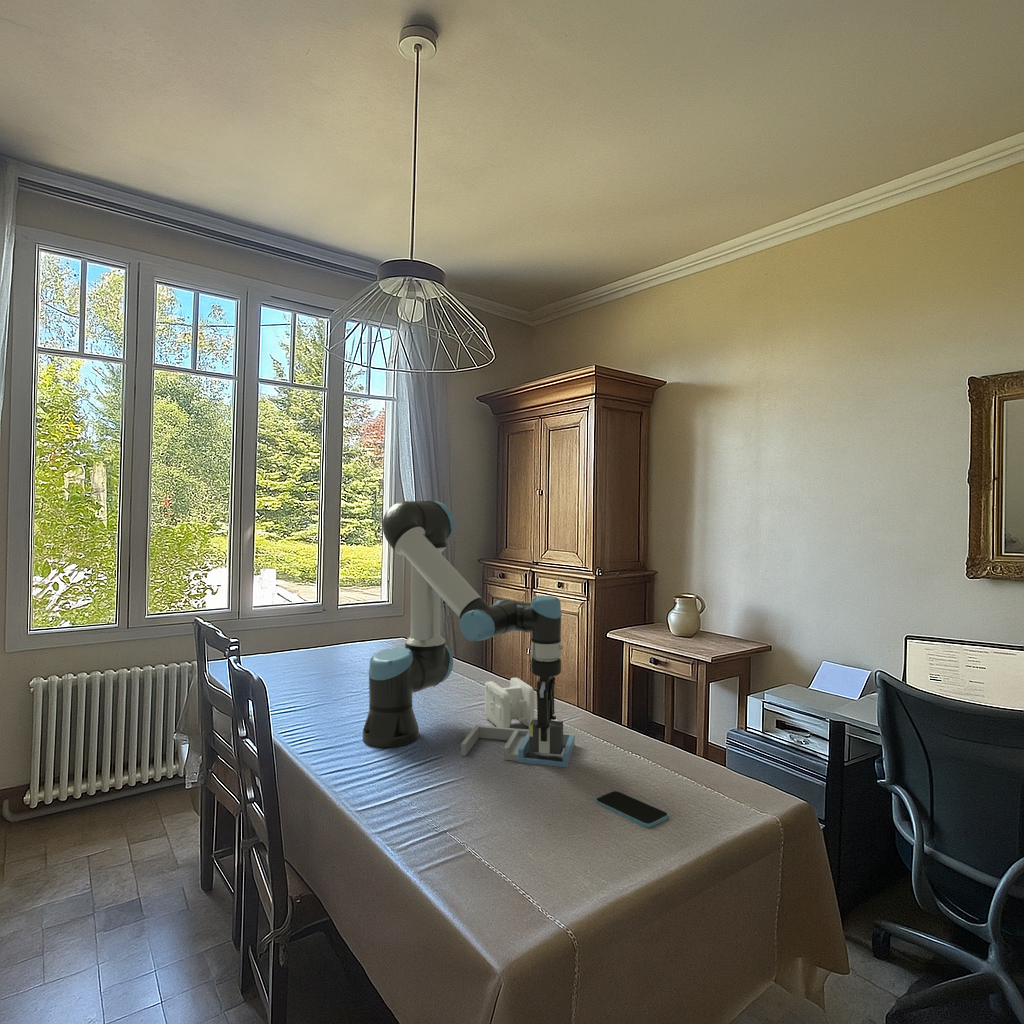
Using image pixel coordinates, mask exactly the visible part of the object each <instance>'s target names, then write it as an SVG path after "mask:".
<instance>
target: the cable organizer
mask: <svg viewBox="0 0 1024 1024" xmlns="http://www.w3.org/2000/svg"><path fill="white" fill-rule="evenodd" d="M535 696H536V694H535V691H534V688H533V686H531V685H529V684H527V682H524V681H523V680H522V679H520V678H519V677H517V676H516V677H511V678H510V682H509V687H501V686H500V685H498V683H496V682H494V681H493V680H492V681H491V680H490V681H486V682H485V683H484V713H485V717H486V719H488V721H489V722H491V723H492V724H493V725H494V726H495V727H504V728H511V726H512V720H519V723H523V725H525V727H529V724H530V722H531V720H532V719H535V713H536V712H535V704H536V701H535V700H536V699H535Z"/></svg>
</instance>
